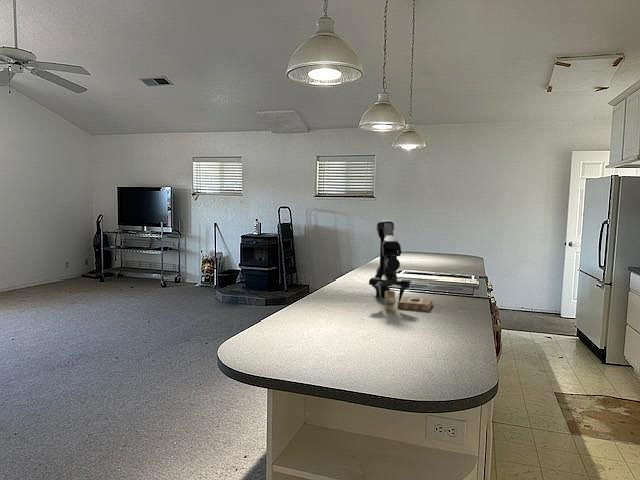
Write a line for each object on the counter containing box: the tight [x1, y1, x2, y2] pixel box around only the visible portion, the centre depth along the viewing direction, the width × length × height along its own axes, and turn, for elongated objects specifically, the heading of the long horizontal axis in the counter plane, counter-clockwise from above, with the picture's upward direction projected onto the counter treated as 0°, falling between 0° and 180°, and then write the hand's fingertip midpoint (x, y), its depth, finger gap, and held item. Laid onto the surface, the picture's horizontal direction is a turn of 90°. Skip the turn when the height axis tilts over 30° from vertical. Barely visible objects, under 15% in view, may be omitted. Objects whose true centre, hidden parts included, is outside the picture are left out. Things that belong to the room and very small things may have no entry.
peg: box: [384, 290, 396, 312], centre depth 209 cm, size 5×5×8 cm
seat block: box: [397, 295, 433, 312], centre depth 216 cm, size 14×14×3 cm
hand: (389, 300), depth 209 cm, fingers open, 9 cm apart
